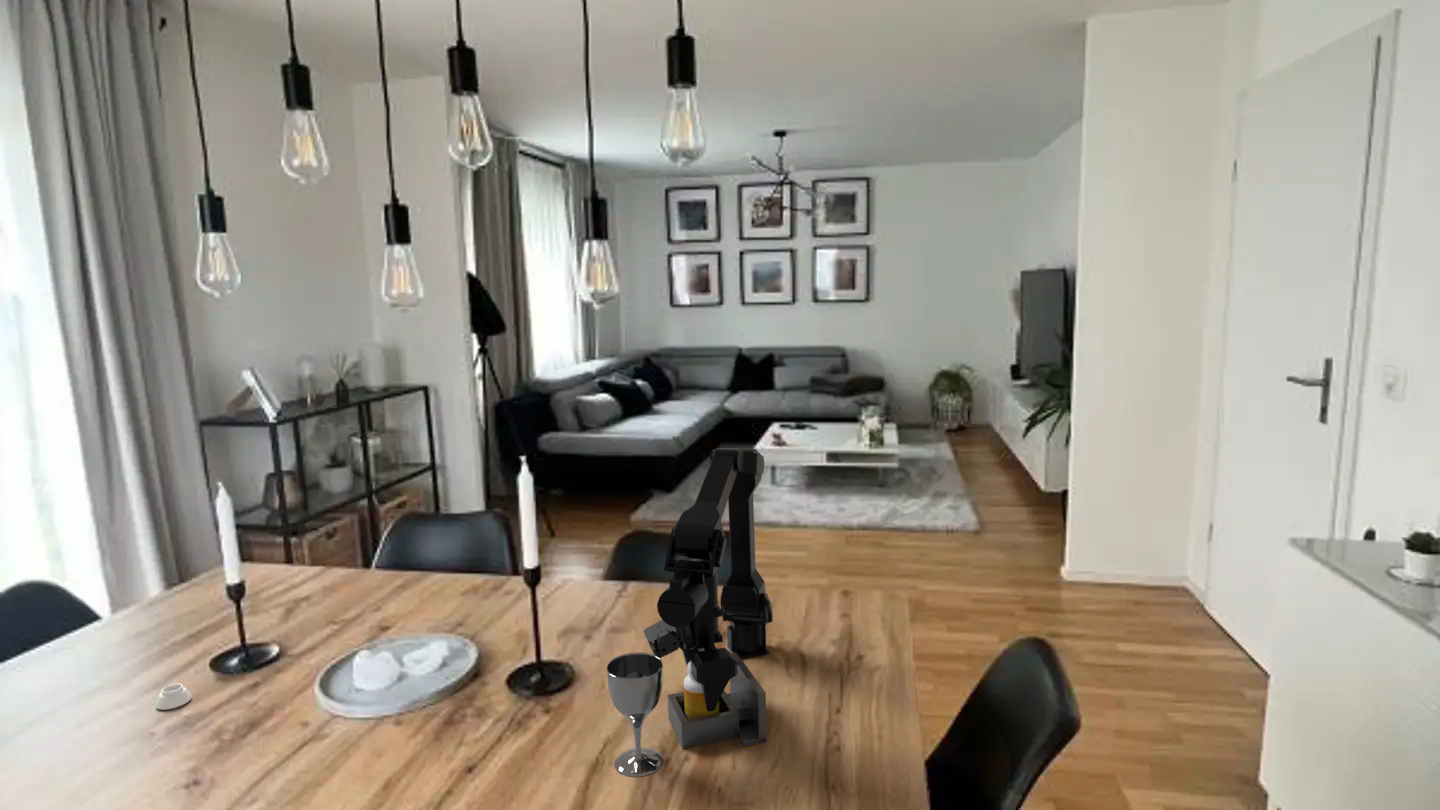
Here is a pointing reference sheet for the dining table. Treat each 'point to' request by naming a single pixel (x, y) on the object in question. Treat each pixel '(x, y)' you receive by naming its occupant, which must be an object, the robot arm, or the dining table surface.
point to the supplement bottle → (695, 698)
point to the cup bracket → (724, 714)
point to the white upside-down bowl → (172, 697)
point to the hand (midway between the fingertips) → (702, 695)
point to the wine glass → (636, 706)
